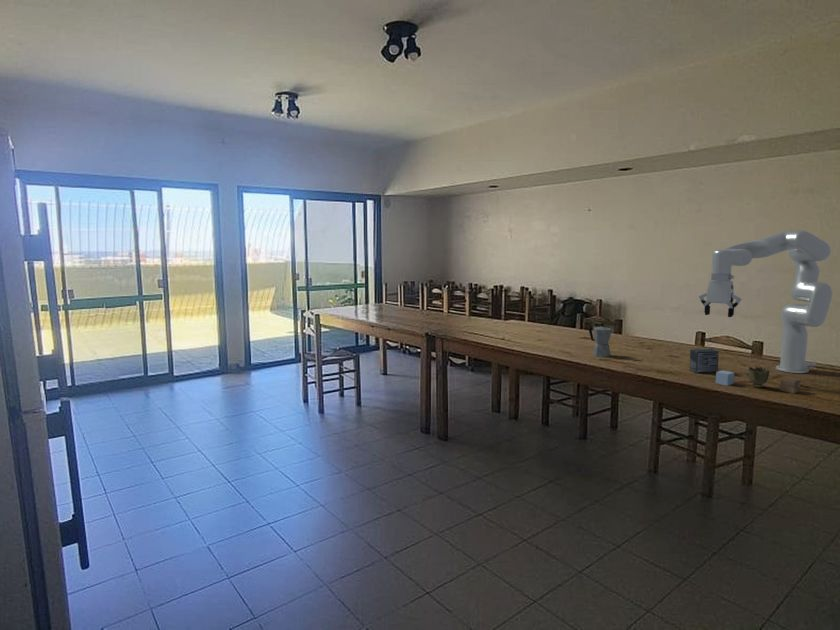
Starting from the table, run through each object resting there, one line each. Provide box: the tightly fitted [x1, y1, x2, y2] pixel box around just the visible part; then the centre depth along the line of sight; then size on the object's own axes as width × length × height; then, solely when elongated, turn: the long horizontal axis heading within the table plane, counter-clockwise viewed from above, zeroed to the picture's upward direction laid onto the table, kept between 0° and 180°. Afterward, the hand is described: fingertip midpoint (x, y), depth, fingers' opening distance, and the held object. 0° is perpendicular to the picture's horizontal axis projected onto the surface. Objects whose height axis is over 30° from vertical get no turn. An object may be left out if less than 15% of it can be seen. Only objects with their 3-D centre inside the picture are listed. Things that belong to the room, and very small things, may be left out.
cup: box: [748, 366, 771, 389], centre depth 214 cm, size 8×7×8 cm
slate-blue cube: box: [715, 369, 735, 386], centre depth 221 cm, size 5×5×5 cm
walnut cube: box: [779, 376, 801, 394], centre depth 208 cm, size 5×5×5 cm
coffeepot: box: [588, 322, 614, 358], centre depth 280 cm, size 15×9×18 cm, turn 33°
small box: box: [689, 348, 719, 374], centre depth 241 cm, size 11×6×10 cm, turn 92°
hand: (718, 315), depth 228 cm, fingers open, 9 cm apart
